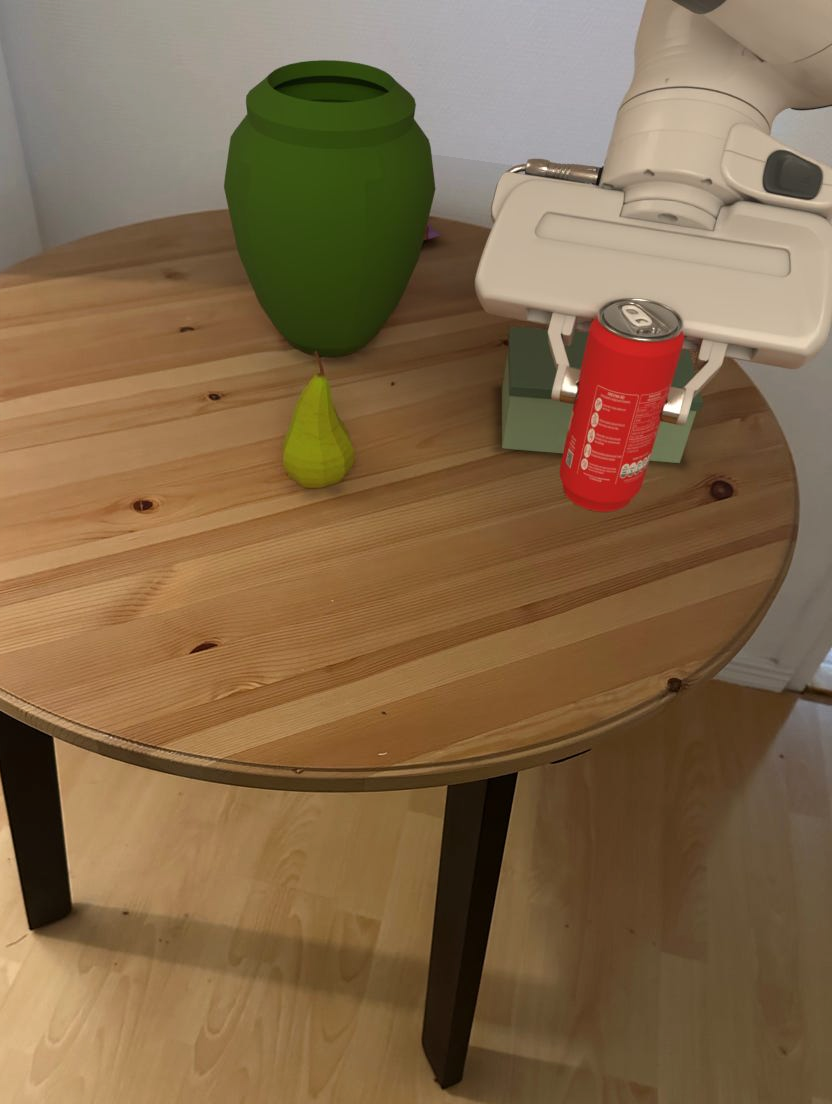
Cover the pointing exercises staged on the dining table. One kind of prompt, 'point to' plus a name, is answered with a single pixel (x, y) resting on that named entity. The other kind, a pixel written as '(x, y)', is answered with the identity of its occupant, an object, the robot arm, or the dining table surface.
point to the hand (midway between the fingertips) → (617, 411)
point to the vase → (329, 200)
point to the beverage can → (619, 402)
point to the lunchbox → (546, 421)
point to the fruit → (317, 438)
